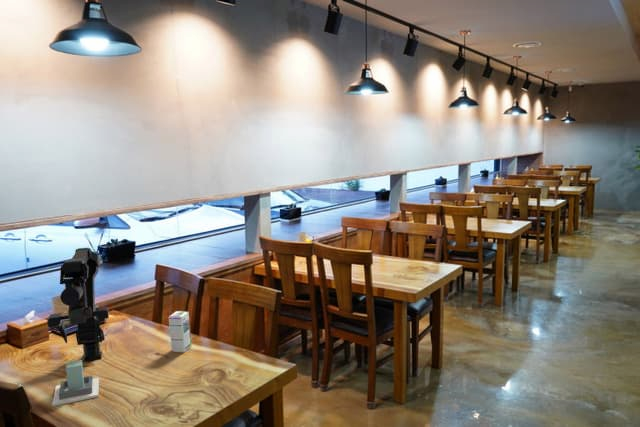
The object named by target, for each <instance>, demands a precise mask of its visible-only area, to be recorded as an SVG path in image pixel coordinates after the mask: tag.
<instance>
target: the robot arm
mask: <svg viewBox="0 0 640 427" xmlns="http://www.w3.org/2000/svg"><path fill="white" fill-rule="evenodd" d="M74 252H75V253H74V255H73V256H72V257H71V258H70V259H67V260H65V261H63V262H62V265H60V274H59V275H60V276H59V285H64V286H65V288H64V289H63V290H62V291H61V294H60V295H59V296H60V297H59V299H60V301H61V302H62V304H64V305H65V306H68V310H67V314H66V315H63V314H62V312H58V313H52V314H49V315H48V318H47V320H46V321H47V322H46V323H47V328H52V329H56V330H57V331H58V332H59V333H60V335H61V336H62V338H63V340H64V342H65V344H68V335H67V330H66V326H65V322H69V324H70V325H71V326H73V325H77V329H75V337H76V342H77V346H82V349H83V355H82V363H83V362H88V361H95V360H100V359H102V358H103V357H102V354H103V352H102V351H101V347H100V346H101V345H100V343H102V342H104V341H105V340H106V339H105V333H104V329H103V328H102V326H101V325H102V324H101V323H102V322H105V321H106V319H109V307H108V306H100V307H96V305H95V304H96V302H95V301H96V300H95V278H96V277H97V275H98V274H99V268H100V266H101V260H100V257H99V254H98V253H97V252H95V251H93V250H92V249H91V247H82V248H81V247H80V248H79V247H78V248H76V249H75V251H74Z"/></svg>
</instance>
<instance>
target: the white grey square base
mask: <svg viewBox="0 0 640 427" xmlns="http://www.w3.org/2000/svg"><path fill="white" fill-rule="evenodd" d="M99 384H100V377H94V378H93V375H92V374H91V375H86V376H84V385H85V386H84V388H79V389H74V390H69V391H68V382H67V379H65V380H61V381H60V384H58V385H55V388H54V389H55V390H54V394H53V399H52V407H56V406H61V405H66V404H70V403H75V402H80V401H84V400H85V401H86V400H89V399H93V398H94V399H95V398H98V397H99V390H100V386H99Z"/></svg>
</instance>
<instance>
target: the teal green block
mask: <svg viewBox="0 0 640 427" xmlns="http://www.w3.org/2000/svg"><path fill="white" fill-rule="evenodd" d="M65 371H66V380H67V382H68V391H69V390H74V389H79V388H84V386H85V385H84V377H85V376H84V369H83V359H80V360H79V359H78V360H73V361H70V362H66V366H65Z"/></svg>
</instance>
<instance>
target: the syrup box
mask: <svg viewBox="0 0 640 427" xmlns="http://www.w3.org/2000/svg"><path fill="white" fill-rule="evenodd" d="M189 314H190V313H189V311H183V310H177V311H174V312H173V313H172V314H171V315H169V316H168V325H169V326H168V327H169V334H170V336H169V338H170V347H171V352H174V353H185V352H187V351H188V350H189V349H190V348H191V347H192V338H191V336H192V335H191V334H192V333H191V325H190V315H189Z"/></svg>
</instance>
